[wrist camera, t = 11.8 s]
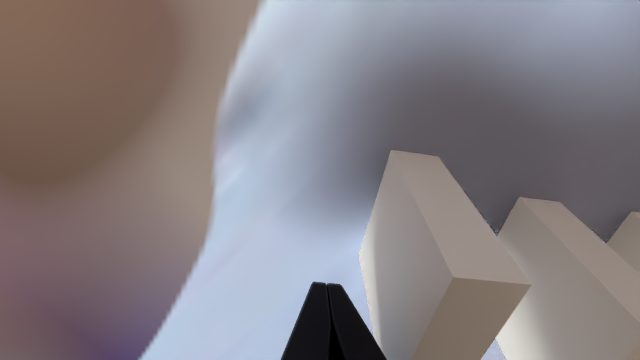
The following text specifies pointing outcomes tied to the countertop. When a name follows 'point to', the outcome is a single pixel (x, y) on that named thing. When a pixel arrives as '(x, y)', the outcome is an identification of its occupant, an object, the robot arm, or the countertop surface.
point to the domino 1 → (434, 266)
